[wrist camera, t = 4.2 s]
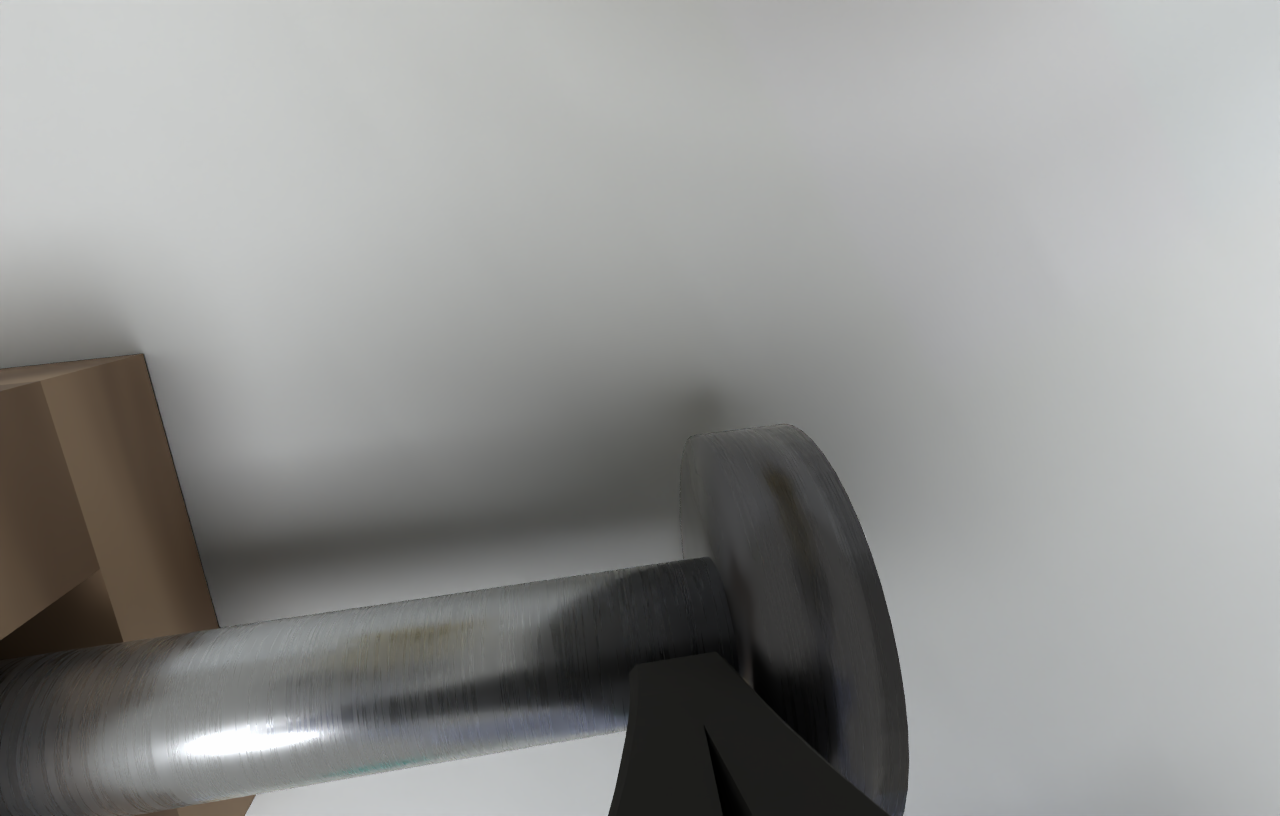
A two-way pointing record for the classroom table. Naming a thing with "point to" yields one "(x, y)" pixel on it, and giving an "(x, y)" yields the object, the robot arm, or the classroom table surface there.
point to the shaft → (487, 661)
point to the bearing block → (94, 519)
